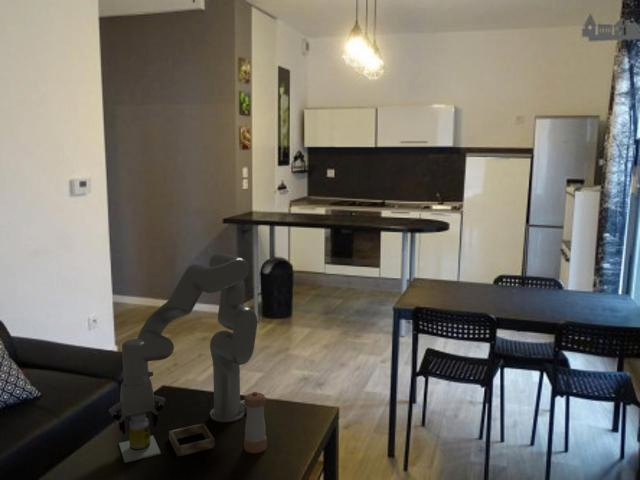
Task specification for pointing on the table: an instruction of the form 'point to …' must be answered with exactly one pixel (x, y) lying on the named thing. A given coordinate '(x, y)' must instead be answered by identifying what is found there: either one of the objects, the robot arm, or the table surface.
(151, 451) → the ceramic tile
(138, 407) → the robot arm
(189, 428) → the oak cradle
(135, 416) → the pill bottle
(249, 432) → the pepper shaker
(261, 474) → the table surface
